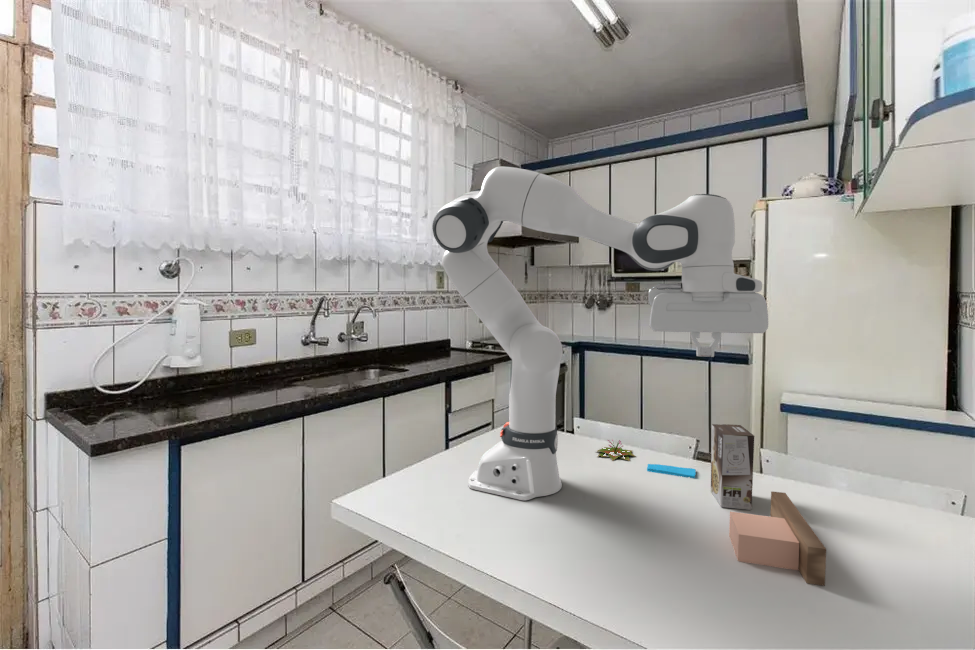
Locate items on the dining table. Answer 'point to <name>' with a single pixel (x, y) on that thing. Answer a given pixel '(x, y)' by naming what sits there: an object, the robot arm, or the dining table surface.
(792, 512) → the walnut board
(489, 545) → the dining table surface
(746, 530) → the terracotta block
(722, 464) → the coffee box
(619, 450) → the lily flower
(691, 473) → the sponge
